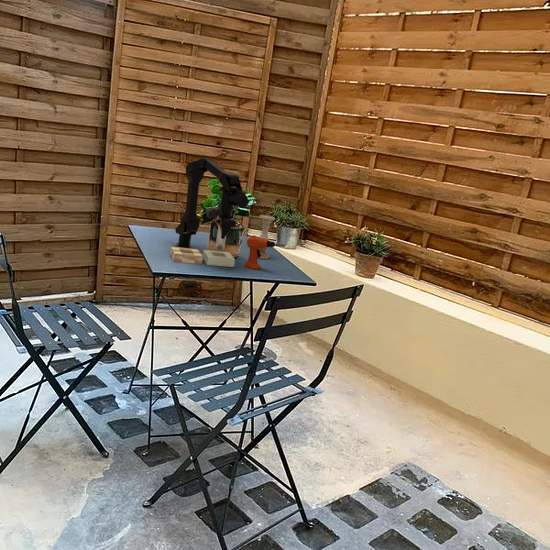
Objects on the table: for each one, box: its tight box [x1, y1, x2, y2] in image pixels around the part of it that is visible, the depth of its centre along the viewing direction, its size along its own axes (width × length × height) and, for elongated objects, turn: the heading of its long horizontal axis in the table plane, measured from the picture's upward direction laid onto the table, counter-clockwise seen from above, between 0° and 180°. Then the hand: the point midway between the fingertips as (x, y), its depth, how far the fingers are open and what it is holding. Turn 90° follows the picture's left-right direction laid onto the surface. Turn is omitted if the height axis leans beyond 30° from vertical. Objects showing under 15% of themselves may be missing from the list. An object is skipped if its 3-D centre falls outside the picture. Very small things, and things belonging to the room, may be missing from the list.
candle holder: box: [258, 214, 276, 260], centre depth 265 cm, size 9×9×20 cm
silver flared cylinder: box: [214, 225, 227, 251], centre depth 240 cm, size 4×4×11 cm
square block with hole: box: [201, 249, 236, 268], centre depth 243 cm, size 12×12×4 cm
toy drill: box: [243, 235, 286, 270], centre depth 241 cm, size 5×19×15 cm, turn 67°
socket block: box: [169, 246, 203, 265], centre depth 238 cm, size 12×12×4 cm
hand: (221, 237), depth 240 cm, fingers closed on silver flared cylinder, 4 cm apart
